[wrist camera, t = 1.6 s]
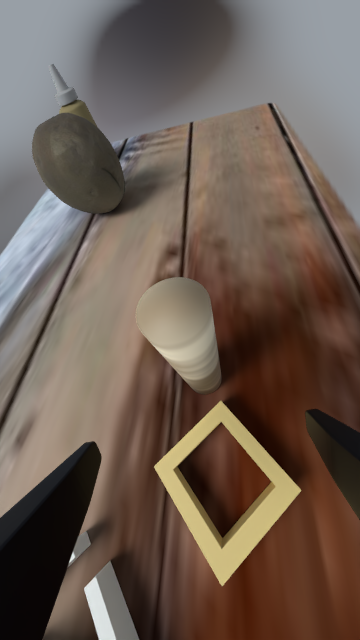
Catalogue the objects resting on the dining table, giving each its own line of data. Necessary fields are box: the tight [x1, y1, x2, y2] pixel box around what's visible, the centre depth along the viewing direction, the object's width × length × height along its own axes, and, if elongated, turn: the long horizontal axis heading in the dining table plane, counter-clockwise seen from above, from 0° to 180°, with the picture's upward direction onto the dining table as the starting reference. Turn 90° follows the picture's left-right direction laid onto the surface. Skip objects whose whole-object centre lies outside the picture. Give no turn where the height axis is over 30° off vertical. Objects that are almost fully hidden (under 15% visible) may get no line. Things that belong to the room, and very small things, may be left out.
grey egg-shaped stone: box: [32, 113, 125, 213], centre depth 36 cm, size 14×14×15 cm
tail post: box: [136, 277, 222, 394], centre depth 15 cm, size 4×4×14 cm
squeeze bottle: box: [49, 64, 98, 128], centre depth 48 cm, size 8×8×18 cm
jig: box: [67, 401, 301, 640], centre depth 13 cm, size 16×23×2 cm
